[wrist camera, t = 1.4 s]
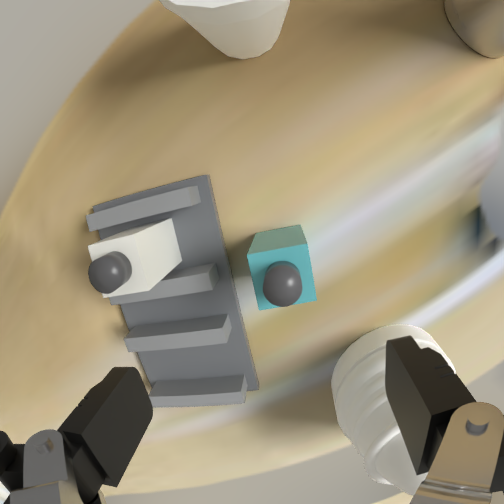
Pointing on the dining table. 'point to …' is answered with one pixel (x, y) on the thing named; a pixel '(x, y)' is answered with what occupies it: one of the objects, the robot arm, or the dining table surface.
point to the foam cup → (234, 23)
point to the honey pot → (376, 405)
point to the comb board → (184, 301)
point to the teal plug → (281, 268)
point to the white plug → (134, 259)
